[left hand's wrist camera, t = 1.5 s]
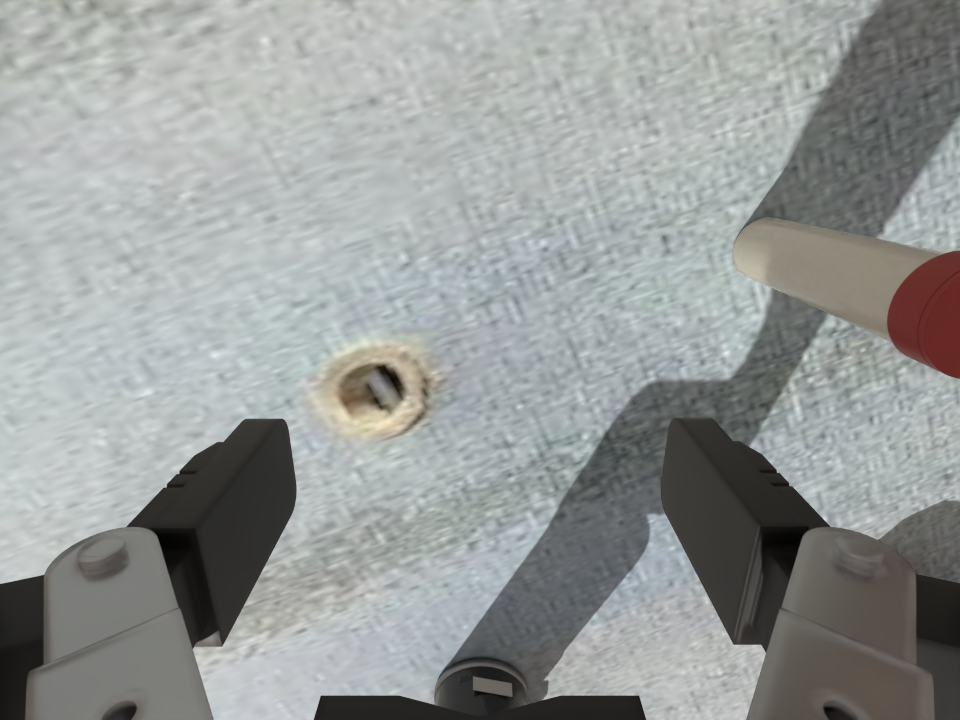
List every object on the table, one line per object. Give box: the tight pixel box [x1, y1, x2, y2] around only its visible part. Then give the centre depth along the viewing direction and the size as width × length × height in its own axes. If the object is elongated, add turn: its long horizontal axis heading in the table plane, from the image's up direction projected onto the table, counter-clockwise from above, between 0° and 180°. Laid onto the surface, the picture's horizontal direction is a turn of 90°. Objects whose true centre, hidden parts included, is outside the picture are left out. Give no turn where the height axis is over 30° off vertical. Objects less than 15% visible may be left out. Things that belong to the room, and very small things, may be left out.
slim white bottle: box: [733, 217, 945, 342], centre depth 30 cm, size 4×4×18 cm
